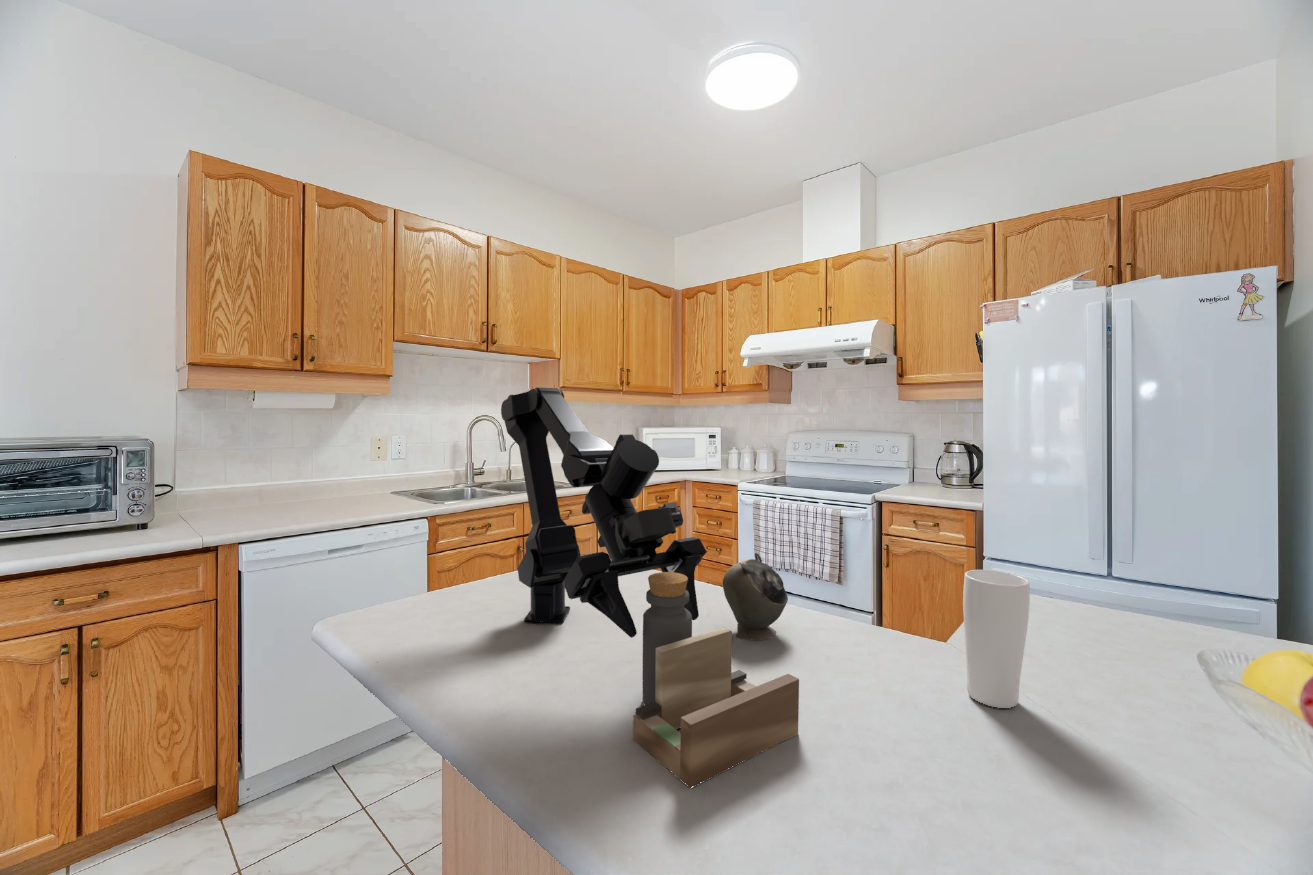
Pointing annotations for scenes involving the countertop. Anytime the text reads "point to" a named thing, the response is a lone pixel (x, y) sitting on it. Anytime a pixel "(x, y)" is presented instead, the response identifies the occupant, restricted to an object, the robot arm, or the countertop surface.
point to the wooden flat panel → (692, 676)
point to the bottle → (663, 622)
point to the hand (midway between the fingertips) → (666, 626)
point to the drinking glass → (995, 635)
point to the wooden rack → (723, 730)
